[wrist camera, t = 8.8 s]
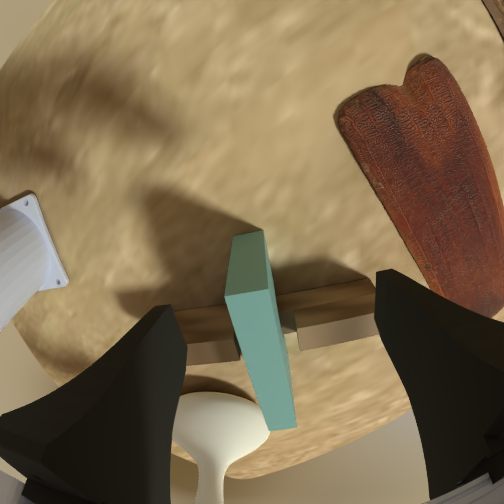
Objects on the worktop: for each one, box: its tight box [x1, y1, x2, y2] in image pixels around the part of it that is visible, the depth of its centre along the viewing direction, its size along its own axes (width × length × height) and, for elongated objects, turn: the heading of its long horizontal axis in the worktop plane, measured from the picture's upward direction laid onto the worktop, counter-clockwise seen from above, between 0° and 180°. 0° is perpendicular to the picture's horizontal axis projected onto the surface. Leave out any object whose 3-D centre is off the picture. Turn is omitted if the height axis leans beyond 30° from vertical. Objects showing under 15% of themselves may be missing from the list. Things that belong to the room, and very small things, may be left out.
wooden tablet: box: [339, 56, 504, 318], centre depth 19 cm, size 27×10×2 cm, turn 39°
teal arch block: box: [224, 230, 297, 431], centre depth 19 cm, size 12×2×7 cm, turn 12°
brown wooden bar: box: [174, 278, 379, 366], centre depth 20 cm, size 16×2×4 cm, turn 101°
